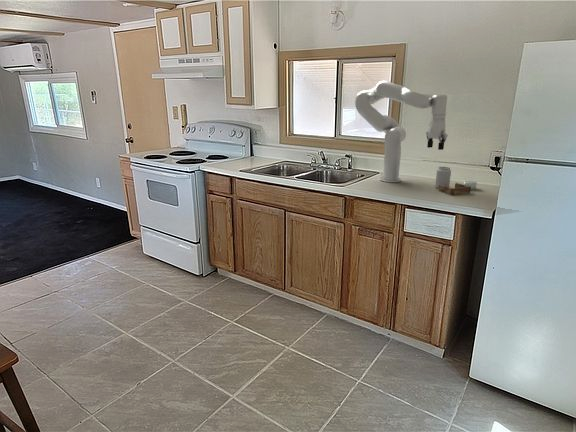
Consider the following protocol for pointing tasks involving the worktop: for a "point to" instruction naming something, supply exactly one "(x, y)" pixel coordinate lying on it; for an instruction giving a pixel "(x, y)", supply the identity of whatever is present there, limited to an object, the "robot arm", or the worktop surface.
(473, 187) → the white small piece
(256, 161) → the worktop surface
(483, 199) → the worktop surface
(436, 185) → the can
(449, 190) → the bay
